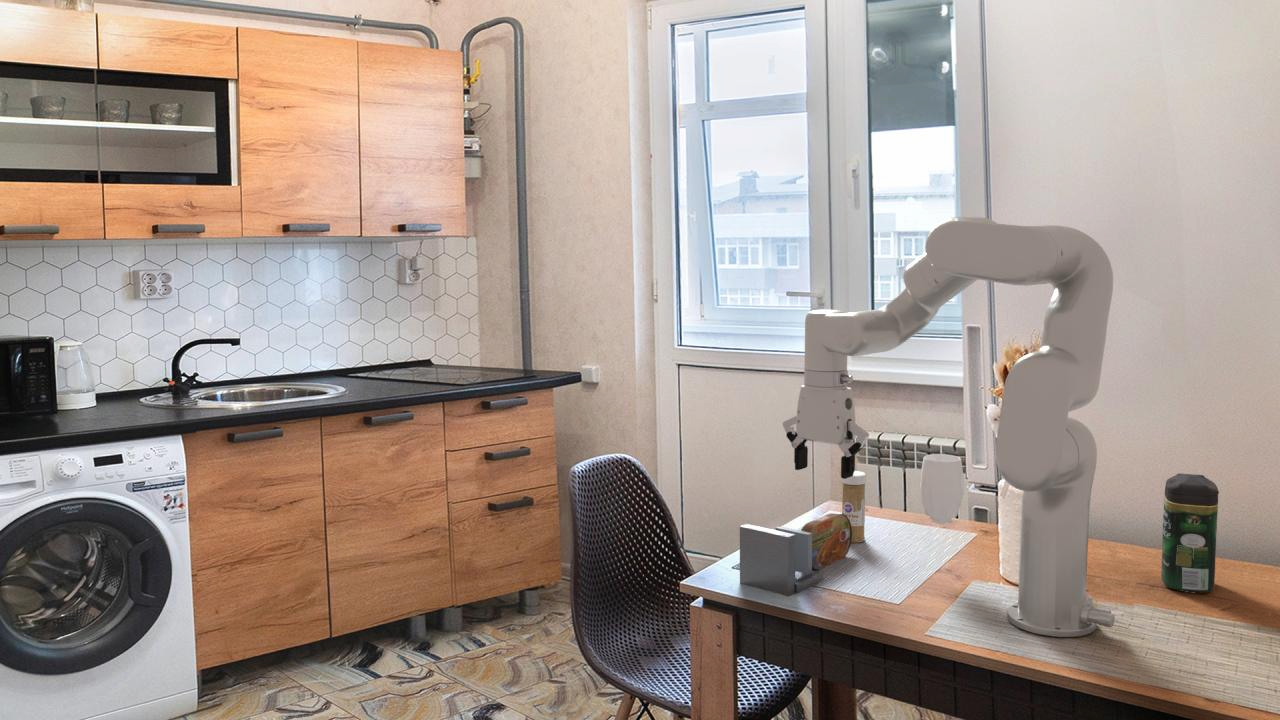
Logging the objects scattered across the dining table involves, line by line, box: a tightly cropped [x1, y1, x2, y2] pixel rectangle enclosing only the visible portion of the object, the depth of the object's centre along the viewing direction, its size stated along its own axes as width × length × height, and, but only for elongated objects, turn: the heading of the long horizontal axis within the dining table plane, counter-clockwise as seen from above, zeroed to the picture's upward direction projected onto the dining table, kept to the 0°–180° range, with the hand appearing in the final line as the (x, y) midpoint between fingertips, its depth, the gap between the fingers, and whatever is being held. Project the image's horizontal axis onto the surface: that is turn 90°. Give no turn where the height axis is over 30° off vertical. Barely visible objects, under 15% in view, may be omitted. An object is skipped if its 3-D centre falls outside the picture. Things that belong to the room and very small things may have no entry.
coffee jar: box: [1161, 473, 1220, 594], centre depth 169 cm, size 10×8×19 cm
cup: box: [919, 453, 965, 525], centre depth 177 cm, size 7×7×21 cm
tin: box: [800, 513, 852, 570], centre depth 185 cm, size 15×3×8 cm, turn 138°
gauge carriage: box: [774, 525, 813, 575], centre depth 178 cm, size 9×1×7 cm, turn 47°
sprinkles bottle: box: [841, 470, 867, 544], centre depth 198 cm, size 5×5×13 cm
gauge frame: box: [739, 523, 824, 597], centre depth 175 cm, size 11×10×10 cm
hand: (823, 472), depth 184 cm, fingers open, 9 cm apart
